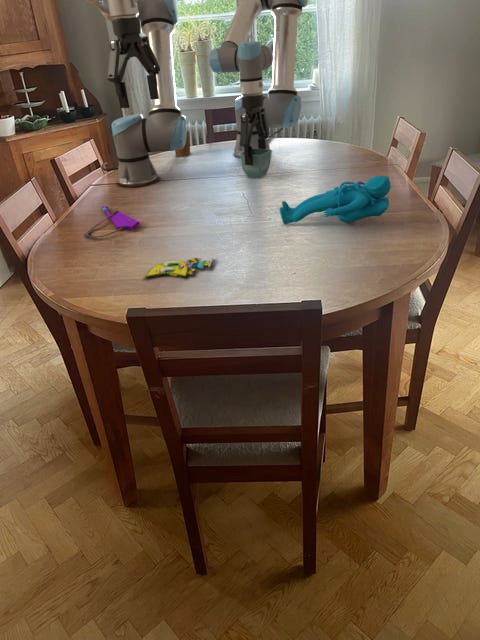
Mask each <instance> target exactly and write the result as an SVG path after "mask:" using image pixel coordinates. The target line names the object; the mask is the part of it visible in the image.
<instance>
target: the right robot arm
mask: <svg viewBox="0 0 480 640" xmlns="http://www.w3.org/2000/svg"><path fill="white" fill-rule="evenodd" d="M308 1H309V0H237V8H236V11H235V13H234V15H233V17H232V20H231V22H230V24H229V27H228V29H227V31H226V34H225V36H224V38H223V40H222V42H221V45H220V46H219V48H214V49H211V50H210V52H209V54H208V66H209V69H210V70H211V72H213V73H217V74H218V73H221V74H225V73H239V83H240V84H239V86H240V94H241V96H239V97H237V98H236V99H234V100H235V101H234V113H235V124H236V125H235V126H236V139H235V144H234V149H233V153H234V154H233V155H234V156H236V157H239V158H240V153H242V152H244V155H245V165H253V160H252V148H256V149H270V150H271V148H270V144H269V141H270V138H271V137H272V136H274V135H276V134H278V133H280V132H281V131H282V130H284V129H286V128H293V127H295V126H296V125H297V124H298V122H299V118H300V115H301V111H302V98H301V96H300V95H298V91H297V89H296V88H295V86H294V85H295V69H296V52H297V37H298V35H297V34H298V19H299V17H300V16H301V15H302V14H303V8H305V7H307V5H308ZM270 10H271V15H272V16H273V18H274V35H273V37H274V39H273V50H272V48H271V47H270V46H268V45H266V44H261V42H260V41H259V40H258V41H255V40H254V41H253V40H252V41H247V40H248V37H249V35H250V33H251V30H252V28H253V25H254V23H255V20H256V18H258V17H259V16H260V15H261V13H262V12H263V11H270ZM271 66H272V81H271V82H272V83H271V87H270V88H269V89H268V92H267V96H264V93H263V91H264V88H263V86H264V83H263V71H266V70H268V69H270V67H271ZM268 128H273V129H274V128H275V129H276V128H279V129H278V130H276V131H274V132H272V133H271V134H270V135H269V129H268Z"/></svg>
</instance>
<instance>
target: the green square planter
mask: <svg viewBox="0 0 480 640" xmlns="http://www.w3.org/2000/svg"><path fill="white" fill-rule="evenodd" d="M239 158H240V163H241V167H242V170H243V172H244V174H245V176H247V178H255V179H261V178H263V177H264V176H266V175H267V173H268V171H269V169H270V165H271V161H272V160H271V159H272V149H271V148H270V149H256V148H252V160H253V165H245V155H244V152H242V153H240V157H239Z"/></svg>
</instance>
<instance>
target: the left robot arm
mask: <svg viewBox="0 0 480 640" xmlns="http://www.w3.org/2000/svg"><path fill="white" fill-rule="evenodd" d="M85 1H86V2H87V3H89V4H90V5H92V6H93V7H95V9H97V10H99V11H100V13H101V14H102V16H103V17H104V18H105V19H106V20H108V21H110V22H111V25H112V30H113V34H114V36H116V38H117V39H116V40H115V39H114V40H109V41H108V44H109V57H108V68H107V76H106V77H107V78H106V79H107V81H108V82H111V83H113V84H114V87H115V94H116V96H117V98H118V103H119V108H120V109H130V103H129V98H128V97H129V96H128V92H127V86H126V82H125V81H123V79H124V76H125V72H126V69H127V66H128V61H129V60H130V59H131V58H136V59H137V60H138V62H139V63H140V65H141V66H142V67H143V68H144V69H145V71H146V72H147V75H146V81H147V87H148V93H149V98H150V100H151V103H152V107H151V108H150V110H149V111H148V117H146V118H145V117H144V116H143V114H142V113H134V114H129V115H125V116H122V117H119V118H116V119H115V120H113V121H112V122H111V131H112V138H113V142H114V146H115V151H116V156H117V160H118V166H116V167H110V168H105V167H107V166H109V165H108V163H107V162H103V163H102V165H101V170H102V171H104V172H111V171H117V179H116V180H117V183H118V186H120V187H123V188H124V187H125V188H136V187H137V188H138V187H145V186H147V185H148V186H149V185H151V184H154V183H156V182H157V181H158V180H159V176H158V172H157V169H156V168H155V166H154V163H153V161H152V159H151V156H150V153H159V152H175V150H181V149H183V148H184V146H185V143H186V137H187V125H186V124H187V117H186V116H185V115H184V114H182V110H181V109H180V108H179V107H178V106H177V95H176V82H175V81H176V80H175V70H174V68H175V67H174V58H173V57H174V56H173V43H172V35H173V34H174V33H175V31H176V28H175V26H177V25H178V24H179V23H180V20H179V19H180V18H179V14H178V8H177V5H176V4H177V3H176V0H85ZM140 34H144V35H145V36H141V35H140Z"/></svg>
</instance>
